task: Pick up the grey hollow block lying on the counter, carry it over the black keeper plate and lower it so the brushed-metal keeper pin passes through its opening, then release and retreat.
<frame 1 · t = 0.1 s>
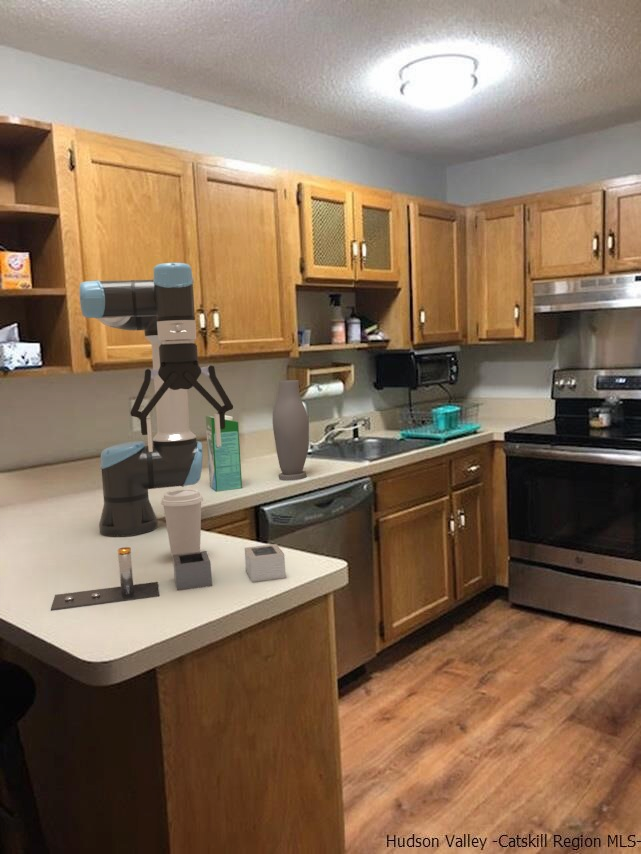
hand: (185, 448, 142), 28 cm above the worktop, fingers open, 13 cm apart
milk carton: (226, 488, 239), on the worktop
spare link: (265, 574, 147), on the worktop
coffee cup: (186, 556, 163), on the worktop
grey hollow block: (192, 581, 144), on the worktop
keeper: (127, 593, 139), on the worktop
vase: (292, 477, 253), on the worktop
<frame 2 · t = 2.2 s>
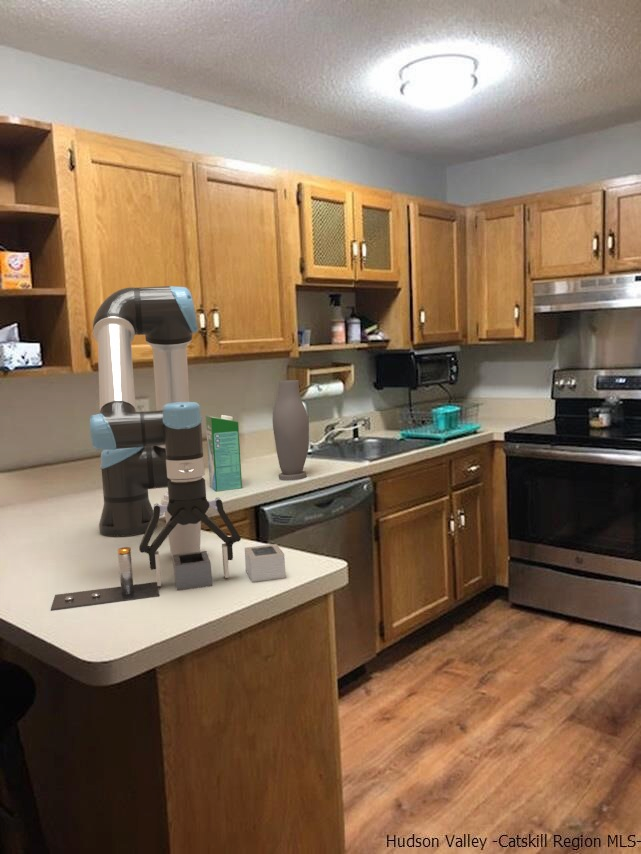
hand: (193, 580, 144), 0 cm above the worktop, fingers open, 13 cm apart
nothing on the worktop moved.
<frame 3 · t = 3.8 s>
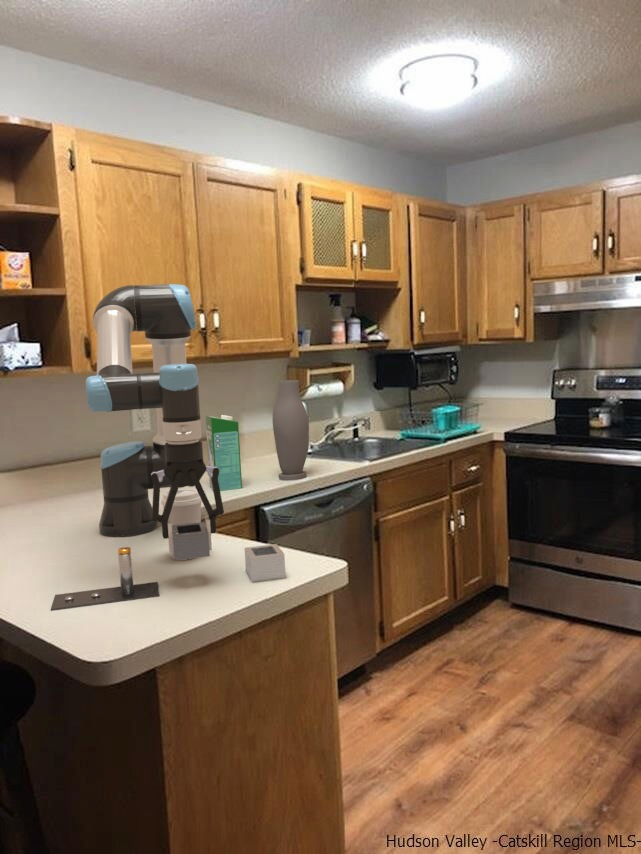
hand: (190, 550, 144), 6 cm above the worktop, fingers closed on grey hollow block, 7 cm apart
grey hollow block: (190, 552, 144), point 6 cm above the worktop, touching gripper
everything else where it was.
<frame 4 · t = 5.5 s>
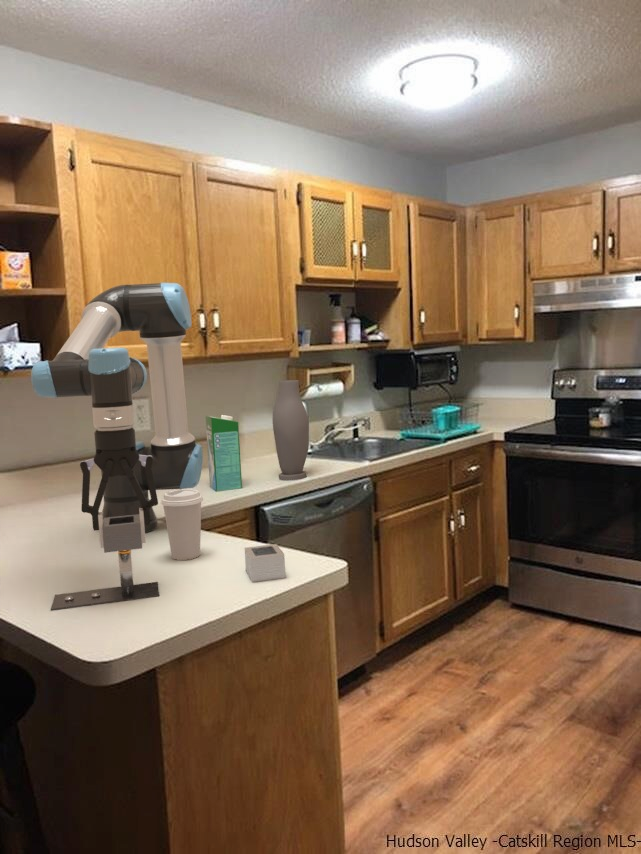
hand: (123, 543, 138), 10 cm above the worktop, fingers closed on grey hollow block, 7 cm apart
grey hollow block: (123, 545, 138), point 10 cm above the worktop, touching gripper
everything else where it was.
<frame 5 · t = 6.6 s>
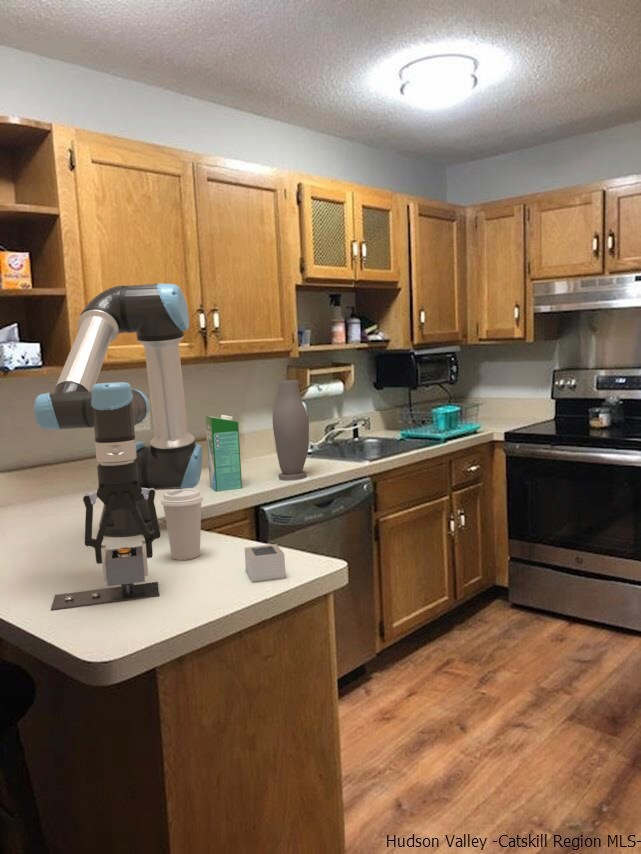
hand: (126, 576, 139), 4 cm above the worktop, fingers closed on grey hollow block, 7 cm apart
grey hollow block: (126, 577, 139), point 3 cm above the worktop, touching gripper
everything else where it was.
when the fingers open (2 cm above the worktop, at t = 7.4 s): grey hollow block stays where it is, resting on keeper.
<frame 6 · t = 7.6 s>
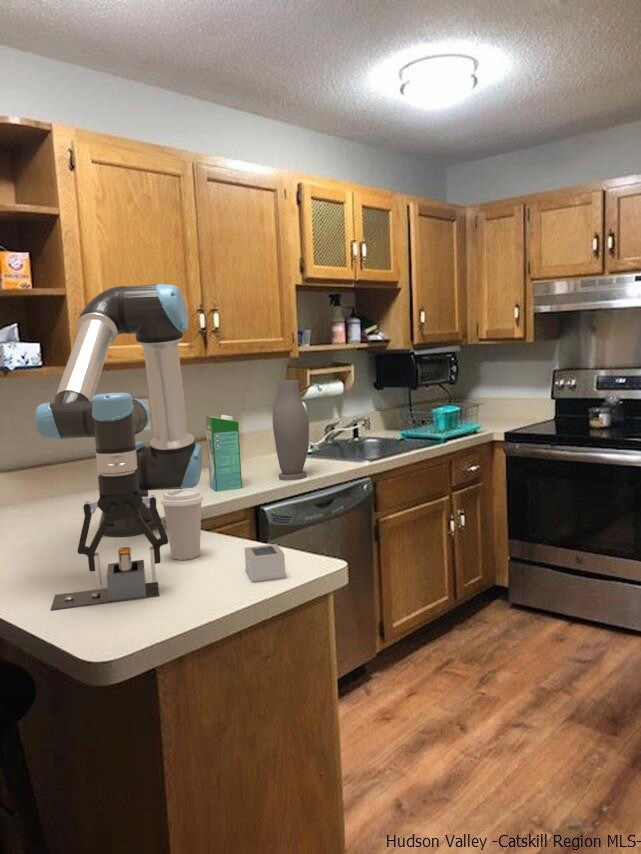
hand: (126, 582, 139), 2 cm above the worktop, fingers open, 10 cm apart
grey hollow block: (127, 591, 139), resting on keeper
everything else where it was.
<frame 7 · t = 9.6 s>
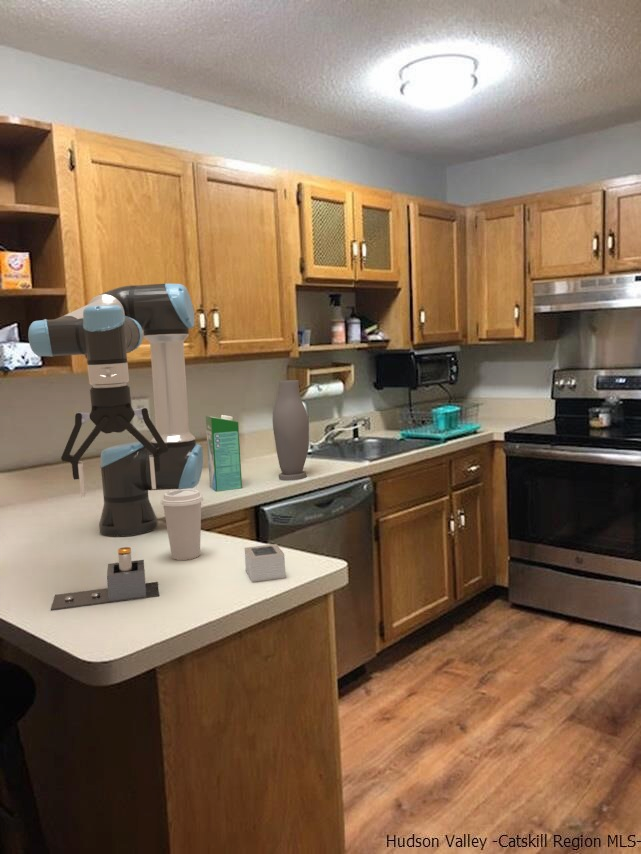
hand: (119, 491, 140), 20 cm above the worktop, fingers open, 13 cm apart
nothing on the worktop moved.
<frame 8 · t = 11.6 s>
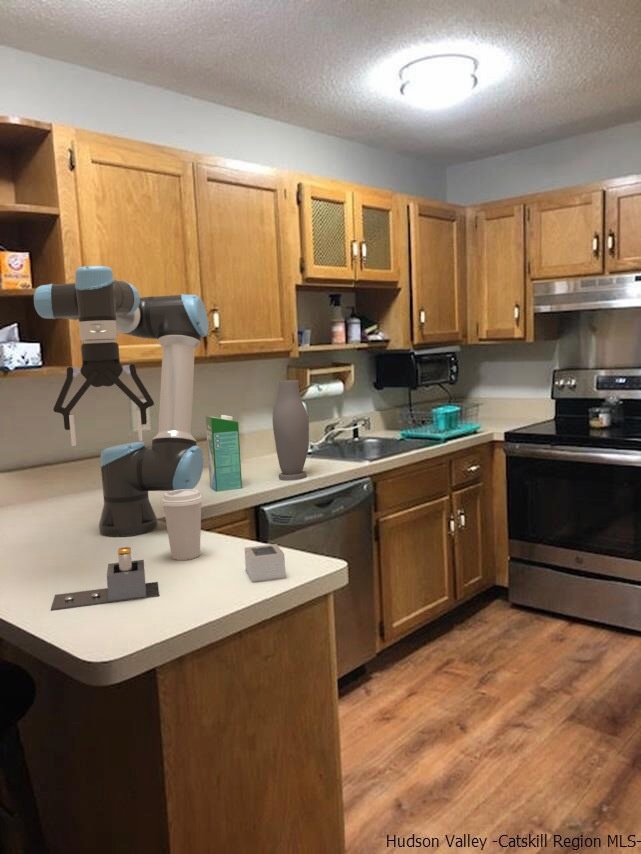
hand: (107, 442, 149), 29 cm above the worktop, fingers open, 13 cm apart
nothing on the worktop moved.
at the end: grey hollow block 0.0 cm off-centre on the keeper, point 0.3 cm above the keeper's base; the gripper is holding nothing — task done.
